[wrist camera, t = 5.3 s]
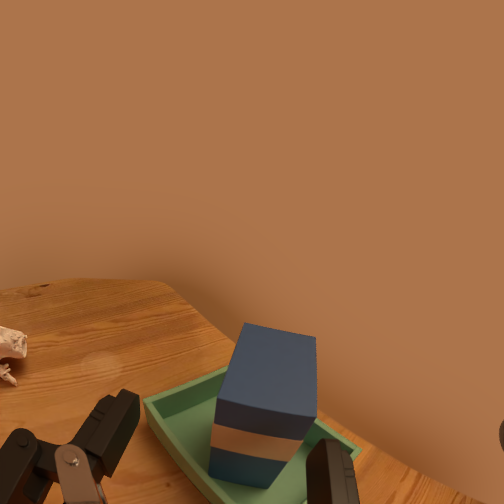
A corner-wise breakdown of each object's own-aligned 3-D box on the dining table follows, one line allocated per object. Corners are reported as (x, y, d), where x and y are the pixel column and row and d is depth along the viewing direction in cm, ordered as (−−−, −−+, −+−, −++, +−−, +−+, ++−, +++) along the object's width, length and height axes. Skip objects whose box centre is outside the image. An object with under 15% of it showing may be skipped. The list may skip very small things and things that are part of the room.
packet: (278, 428, 22) (316, 336, 18) (268, 490, 15) (318, 418, 11) (226, 417, 22) (243, 321, 18) (206, 477, 16) (214, 398, 12)
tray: (343, 468, 18) (363, 449, 16) (256, 544, 10) (267, 540, 9) (237, 383, 28) (242, 358, 26) (147, 423, 20) (142, 399, 19)
